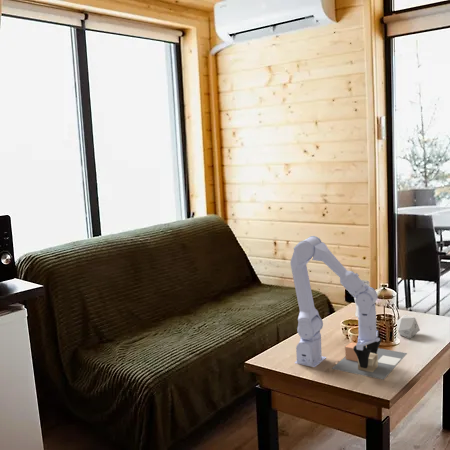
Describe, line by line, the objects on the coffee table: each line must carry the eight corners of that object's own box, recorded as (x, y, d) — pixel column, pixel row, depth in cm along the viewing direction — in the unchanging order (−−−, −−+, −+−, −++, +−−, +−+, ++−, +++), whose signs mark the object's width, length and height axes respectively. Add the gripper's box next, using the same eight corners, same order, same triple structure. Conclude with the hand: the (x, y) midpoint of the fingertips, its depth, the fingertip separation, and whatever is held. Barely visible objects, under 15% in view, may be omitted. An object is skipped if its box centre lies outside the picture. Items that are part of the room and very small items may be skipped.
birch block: (372, 372, 183) (372, 359, 183) (358, 369, 186) (357, 356, 186) (377, 366, 187) (377, 354, 187) (363, 363, 190) (363, 351, 190)
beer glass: (360, 312, 245) (359, 279, 243) (373, 315, 240) (373, 281, 238) (350, 316, 241) (349, 282, 239) (364, 319, 236) (363, 285, 233)
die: (397, 341, 211) (413, 324, 207) (386, 324, 217) (402, 307, 213) (412, 344, 215) (428, 327, 211) (401, 328, 221) (416, 311, 217)
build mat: (383, 380, 178) (383, 379, 178) (331, 370, 188) (331, 368, 188) (407, 354, 197) (407, 352, 197) (358, 346, 207) (358, 344, 207)
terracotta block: (359, 361, 192) (358, 349, 192) (345, 359, 195) (345, 346, 194) (364, 356, 196) (364, 344, 196) (351, 354, 199) (350, 342, 198)
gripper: (370, 333, 176) (371, 373, 178) (386, 319, 188) (387, 357, 190) (349, 330, 180) (351, 369, 183) (366, 316, 192) (367, 354, 194)
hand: (368, 363), depth 187 cm, fingers open, 7 cm apart
